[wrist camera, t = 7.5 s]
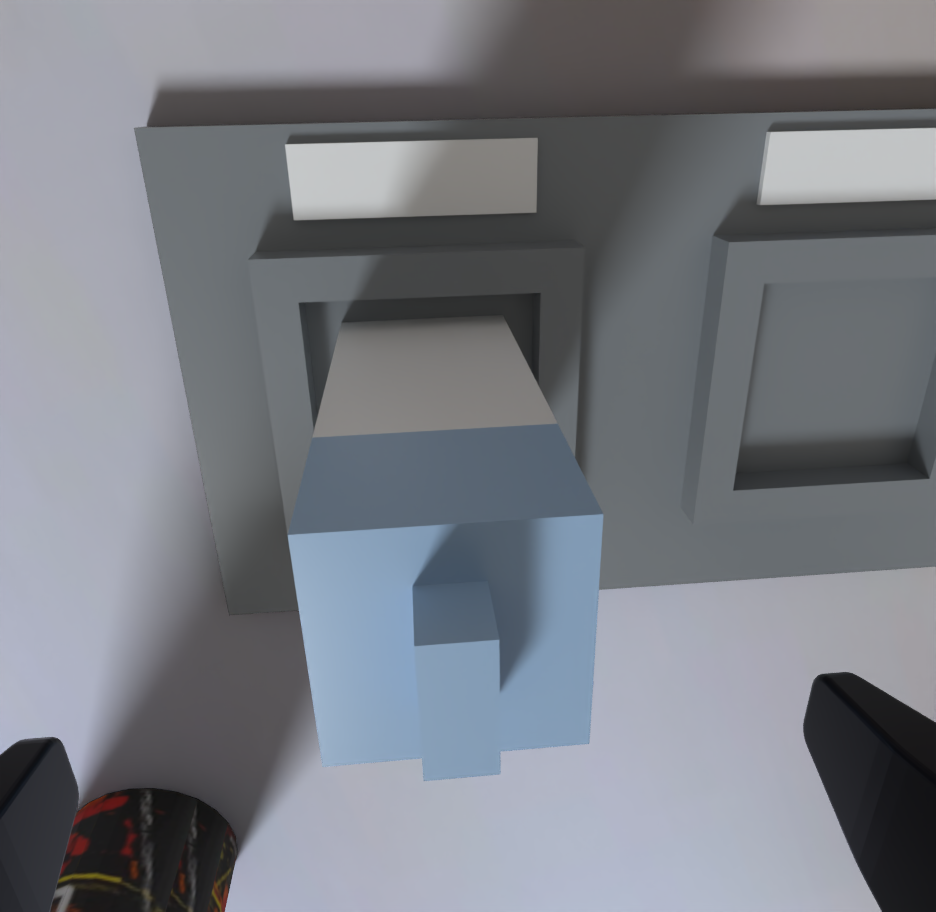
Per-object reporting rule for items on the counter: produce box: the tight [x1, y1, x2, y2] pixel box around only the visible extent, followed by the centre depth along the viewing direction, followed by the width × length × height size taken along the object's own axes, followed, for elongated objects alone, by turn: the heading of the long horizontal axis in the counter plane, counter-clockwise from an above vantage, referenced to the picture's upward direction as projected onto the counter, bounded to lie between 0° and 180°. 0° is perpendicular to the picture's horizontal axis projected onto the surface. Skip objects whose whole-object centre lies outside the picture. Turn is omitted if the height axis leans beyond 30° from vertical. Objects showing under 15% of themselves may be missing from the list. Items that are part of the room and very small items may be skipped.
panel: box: [134, 108, 936, 615], centre depth 20 cm, size 23×13×2 cm, turn 91°
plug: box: [288, 315, 603, 781], centre depth 14 cm, size 4×4×11 cm
